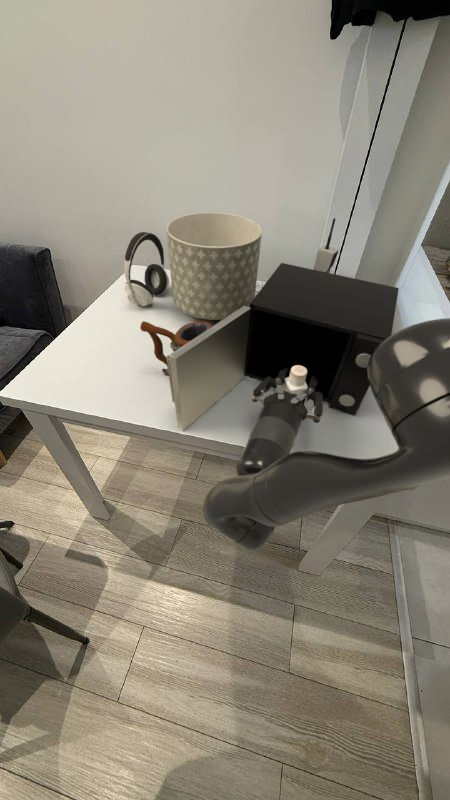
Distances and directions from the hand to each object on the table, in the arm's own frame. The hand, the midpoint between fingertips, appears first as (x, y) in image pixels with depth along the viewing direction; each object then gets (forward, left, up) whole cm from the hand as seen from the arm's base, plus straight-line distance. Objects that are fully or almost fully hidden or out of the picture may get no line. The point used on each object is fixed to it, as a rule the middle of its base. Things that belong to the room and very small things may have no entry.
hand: (299, 375), depth 68 cm
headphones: (+55, -26, -10) cm, 62 cm away
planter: (+34, -30, -10) cm, 46 cm away
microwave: (0, -15, -9) cm, 18 cm away
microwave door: (+19, +6, -9) cm, 22 cm away
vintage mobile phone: (+6, -50, -10) cm, 51 cm away
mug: (+27, +2, -10) cm, 29 cm away
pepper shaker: (0, +3, -6) cm, 7 cm away
